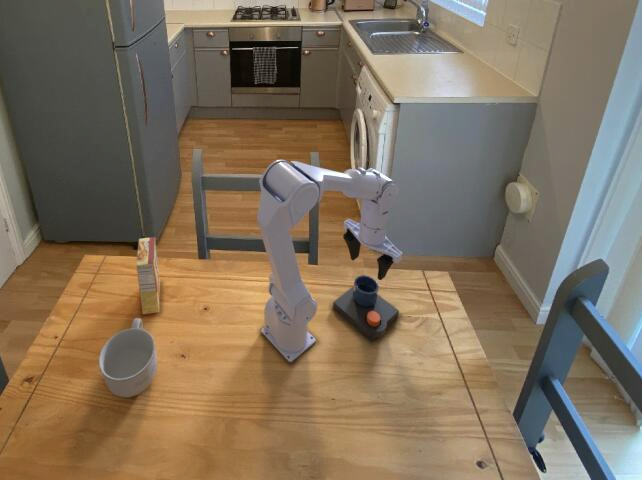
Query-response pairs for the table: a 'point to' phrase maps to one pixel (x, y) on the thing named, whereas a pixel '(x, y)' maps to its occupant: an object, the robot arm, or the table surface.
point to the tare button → (373, 319)
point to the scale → (365, 314)
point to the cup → (365, 291)
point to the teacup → (129, 361)
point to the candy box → (148, 275)
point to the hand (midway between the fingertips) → (367, 267)
